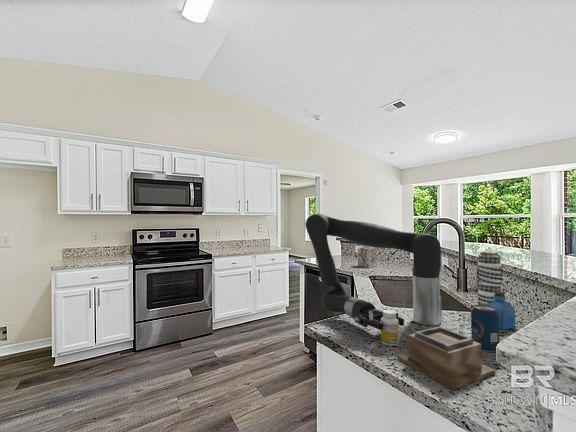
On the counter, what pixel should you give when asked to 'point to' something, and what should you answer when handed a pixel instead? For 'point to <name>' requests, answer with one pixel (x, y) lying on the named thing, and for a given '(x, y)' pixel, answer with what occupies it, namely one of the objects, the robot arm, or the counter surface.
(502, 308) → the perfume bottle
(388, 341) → the supplement bottle
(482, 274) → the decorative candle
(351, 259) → the counter surface
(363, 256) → the decorative jar
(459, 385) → the display pedestal
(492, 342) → the soda can
